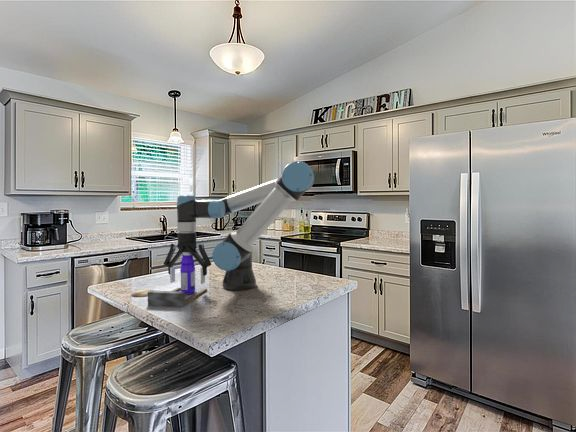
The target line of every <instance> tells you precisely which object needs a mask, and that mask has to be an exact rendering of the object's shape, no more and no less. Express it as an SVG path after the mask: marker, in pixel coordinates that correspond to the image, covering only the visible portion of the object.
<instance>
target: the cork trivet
mask: <svg viewBox="0 0 576 432" xmlns="http://www.w3.org/2000/svg"><path fill="white" fill-rule="evenodd" d="M151 290H153V291H155V290H154V289H140V290H135V291H133V292H131V296H132V297H135V298H143V297H148V292H149V291H151Z"/></svg>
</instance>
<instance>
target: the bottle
mask: <svg viewBox="0 0 576 432" xmlns="http://www.w3.org/2000/svg"><path fill="white" fill-rule="evenodd" d="M181 256H182V257H181V261H180V264H181V265H180V268H179V270H180V271H179V272H180V288H181V290H180V292H185V295H193V294H195V293H196V292H195V291H196V273H195V271H196V267H195V263H196V262H195V259H194V256H192V254H190V252H183V254H182V255H181Z"/></svg>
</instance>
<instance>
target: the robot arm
mask: <svg viewBox="0 0 576 432" xmlns="http://www.w3.org/2000/svg"><path fill="white" fill-rule="evenodd" d="M314 184H315V173H314V171H313V169H312V167H311V166H310V165H309V164H308V163H306V162H304V161H299V160H294V161H291V162H290V163H288V164H286V166H284V168H283V170H282V172H281V175H279V177H277V178H276V179H273V180H270V181H267V182H264V183H261V184H260V185H257V186H254V187H251V188H248V189H246V190H243V191H240V192H237V193H235V194H234V193H233V194H231V195H229V196H227V197H224V198H220V199H197V198H196V195H193V194H192V195H191V194H189V195H188V194H187V195H185V194H183V195H182V194H180V195H178V196H177V200H176V201H177V202H176V211H177V212H176V213H177V214H176V215H177V232H178V233H177V243H176V242H173V243H171V244H170V247H169V248H170V249H169V251H168V253H167V255H166V256H165V257H166V258H165V260H164V262H163V265H164V266H167V268H168V269H167V271H168V272H167V273H168V275H169V277H170V281H169V283H174V282H176V266H175V264H176V262H177V261H178V260H179V258H180V257H181V256H182V254H183V252H190V254H192V256H193V258H195V259H194V260H196V261H197V263H199V265H200V285H203V284H205V283H206V276H207V275H208V267H210V266H211V265H212V262H211V260H210V258H209V256H208V254H207V251H206V250H205V245H204V243H200V244H197V232H196V231H197V219H221V218H225V217H227V216H228V215H231V214H233V213H236V212H239V211H241V210H244V209H247V208H250V207H252V206H255V205H258V206H257V208H255V209H254V210H253V212H251V214H249V217H248V218H247V219H246V220H245V221H244V222H243V223H242V225H240V227H238V229H237V230H235V231H230V232H229V234H228V235H226V237H225V238H224V239H223V240H222V242H220V243H217V244H216V245H215V247H214V248H213V250H212V252H211V253H212V254H211V255H212V261H213V263H214V265H215V266H216V267H217V268H218V269H220V270H221V271H224V272H225V273H224V276H223V279H222V288H223V289H226V290H231V291H242V290H243V291H244V290H251V289H254V288H255V287H257V279H256V276H255V273H254V271H253V245H254V244H255V243H256V242H257V241H258V240H259V238H261V236H262V235H263V234H264V233H265V231H266V230H267V229H268V228H270V226H271V225H272V224H273V223H274V222H275V220H277V219H278V217H279V216H280V215H281V214H282V213H283V212H284V210H285V209H287V207H288V206H289V205H290V204H291V202H297V201H298V200H299V199H300V198H301V197H302V196H303V195H304V194H305V193H306V192H307V191H309V190H310V189H311V188H312V187H313V185H314ZM176 249H178V250H177V252H176ZM198 251H199V252H198ZM175 252H176V253H175ZM199 253H200V254H199ZM174 254H175V255H174Z"/></svg>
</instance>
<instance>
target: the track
mask: <svg viewBox="0 0 576 432" xmlns="http://www.w3.org/2000/svg"><path fill="white" fill-rule="evenodd" d="M150 290H151V291H149V292H148V296H147V306H149V307H151V306H153V307H166V308H167V307H169V308H170V307H172V308H183V307H185V306H186V305H187V304H189V303H191V302H192V301H194V300H196V299H197V298H199V297H200V296H202V295H203V294H205V293H207V292H208V288H203V289H201V290H200V291H197V292H195V293H193V294H191V296H189V297H187V298H186V294H185V292H181V287H176V288H174V289H173V290H154V289H150ZM153 290H154V291H153Z"/></svg>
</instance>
